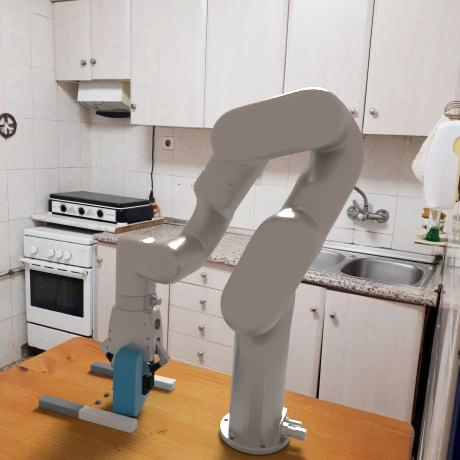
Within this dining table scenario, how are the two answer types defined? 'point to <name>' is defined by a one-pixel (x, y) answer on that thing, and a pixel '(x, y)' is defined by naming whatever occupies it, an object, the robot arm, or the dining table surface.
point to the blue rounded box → (128, 382)
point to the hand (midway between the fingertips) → (133, 387)
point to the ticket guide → (97, 414)
